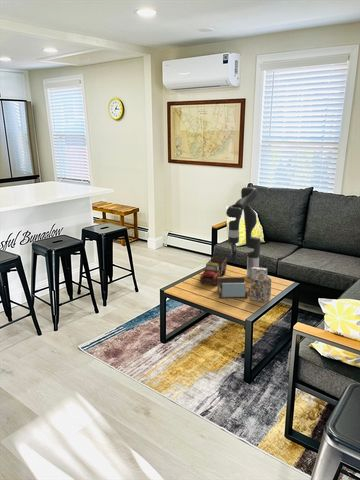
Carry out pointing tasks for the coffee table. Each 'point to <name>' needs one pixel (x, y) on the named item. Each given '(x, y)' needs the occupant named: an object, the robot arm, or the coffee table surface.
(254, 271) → the candy bar box
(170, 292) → the coffee table surface
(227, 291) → the panel
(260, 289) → the decorative jar
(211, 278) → the toy truck
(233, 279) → the box
